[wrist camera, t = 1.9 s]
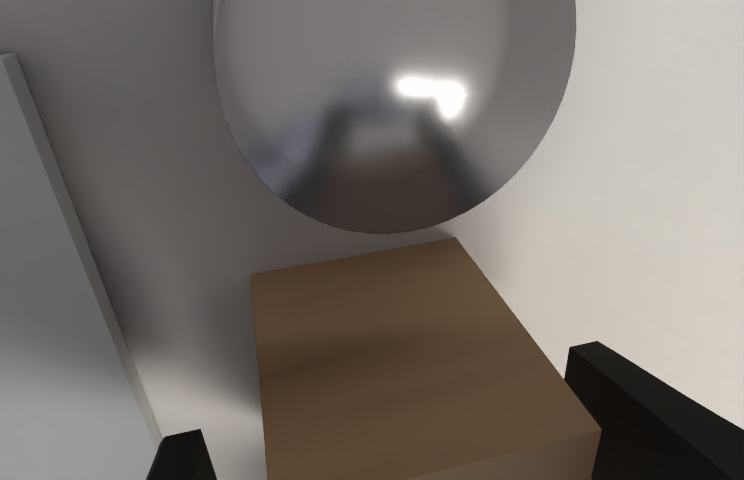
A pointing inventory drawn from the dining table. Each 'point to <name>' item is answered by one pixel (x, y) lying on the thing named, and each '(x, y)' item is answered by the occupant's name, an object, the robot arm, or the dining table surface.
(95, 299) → the slate tile
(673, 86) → the dining table surface
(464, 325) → the walnut block
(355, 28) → the grey cylinder
